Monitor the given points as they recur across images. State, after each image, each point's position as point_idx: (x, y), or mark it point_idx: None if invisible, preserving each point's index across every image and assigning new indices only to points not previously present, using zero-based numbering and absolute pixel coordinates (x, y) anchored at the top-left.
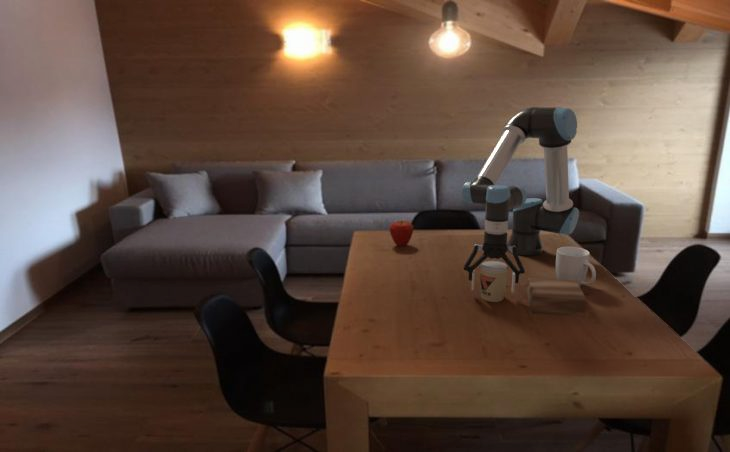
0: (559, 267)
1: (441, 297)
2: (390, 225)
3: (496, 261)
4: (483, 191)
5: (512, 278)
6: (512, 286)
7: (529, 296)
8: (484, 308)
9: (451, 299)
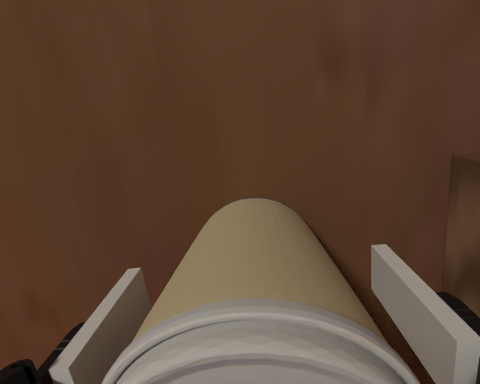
0: None
1: (25, 309)
2: None
3: (285, 361)
4: None
5: (420, 322)
6: (391, 317)
7: (469, 291)
8: None
9: (74, 318)
